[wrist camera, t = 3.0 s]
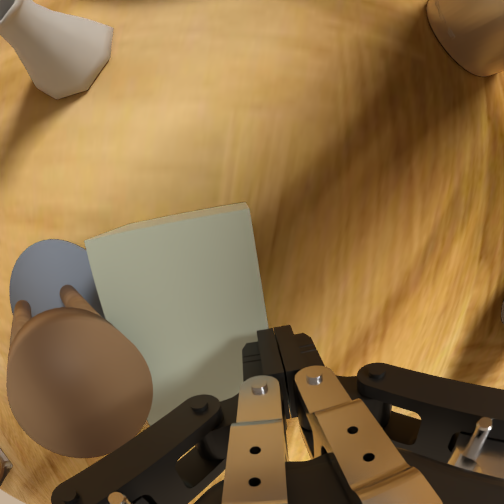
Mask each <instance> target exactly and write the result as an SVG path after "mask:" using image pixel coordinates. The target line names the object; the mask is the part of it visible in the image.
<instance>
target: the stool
mask: <svg viewBox="0 0 504 504" xmlns="http://www.w3.org/2000/svg"><path fill="white" fill-rule="evenodd" d="M60 298H61V300H62V302H63V303H64V305H65V307H60V308H54V309H50V310H46V311H44V312H42V313H39V314H37V315H36V316H34V317H32V315H31V306H30V304H29V303H28V302H27V301H25V300H20V301H18V302H17V303H16V305H15V309H14V315H13V322H12V329H11V338H10V348H9V354H8V364H7V385H6V387H7V397H8V401H9V405H10V408H11V410H12V413H13V415H14V417H15V419H16V420H17V422H18V424H19V425H20V426H21V428H22V429H23V430H24V431H25V433H26V434H27V435H28V436H29V437H30V438H32V439H33V440H34V441H35V442H36V443H38V444H39V445H41V446H42V447H44V448H46V449H48V450H50V451H52V452H54V453H57V454H60V455H63V456H68V457H74V458H92V457H98V456H102V455H106V454H109V453H111V452H113V451H115V450H116V449H118V448H119V447H121V446H122V445H124V444H125V443H127V442H128V441H130V440H131V439H133V438H134V437H135V436H136V435H137V433H138V432H139V431H140V430H141V428H142V427H143V425H144V423H145V422H146V420H147V418H148V415H149V412H150V410H151V405H152V400H153V383H152V377H151V373H150V370H149V367H148V365H147V363H146V361H145V359H144V357H143V356H142V354H141V352H140V351H139V350H138V349H137V348H136V346H135V345H134V344H133V343H132V342H131V341H130V340H129V339H127V338H126V337H125V336H124V335H123V334H122V333H121V332H120V331H119V330H118V329H117V328H116V327H114V326H113V325H112V324H111V323H110V322H109V321H107V320H106V319H104V318H103V317H101V316H100V315H99V314H98V313H97V312H96V311H95V309H94V308H93V307H92V306H91V305H90V304H89V303H88V302H87V301H86V300H85V299H84V298H83V297H82V296H81V295H80V294H79V292H78V291H77V290H76V289H75V288H74V287H73V286H71V285H64V286H63V287H62V288H61V289H60Z"/></svg>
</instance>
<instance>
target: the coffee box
mask: <svg viewBox="0 0 504 504" xmlns="http://www.w3.org/2000/svg"><path fill="white" fill-rule="evenodd" d="M12 466H13V465H12V464H11V463H10V461H9V460H8V458H7V457H6V456H5V454H4V453H3V452H2V450H1V449H0V486H1V484H2V482H3V481H4V479H5V477H6V476H7V474H8V472H9V471H10V469H11V467H12Z"/></svg>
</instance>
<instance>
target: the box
mask: <svg viewBox="0 0 504 504" xmlns="http://www.w3.org/2000/svg"><path fill="white" fill-rule="evenodd" d="M84 242H85V246H86V251H87V255H88V259H89V263H90V267H91V271H92V275H93V278H94V282H95V285H96V289H97V292H98V296H99V299H100V302H101V306H102V309H103V312H104V315H105V318H106V320H107V321H109V322H110V323H111V324H112V325H113V326H114V327H116V328H117V329H118V330H119V331H120V332H121V333H122V334H123V335H124V336H125V337H126V338H127V339H129V340H130V341H131V342H132V343H133V344H134V345H135V346H136V348H137V349H138V350H139V351H140V352H141V354H142V356H143V357H144V359H145V361H146V363H147V365H148V367H149V370H150V373H151V377H152V383H153V400H152V405H151V410H150V412H149V415H148V418H147V421H148V423H149V425H150V426H151V425H153V424H154V423H156V422H157V421H158V420H160V419H161V418H162V417H164V416H165V415H167V414H168V413H169V412H171V411H172V410H173V409H175V408H176V407H177V406H179V405H180V404H182V403H183V402H184V401H186V400H187V399H189V398H191V397H193V396H196V395H202V394H207V395H212V396H214V397H216V398H217V399H218V400H219V402H220V401H223V400H226V399H229V398H231V397H233V396H235V395H237V394H238V393H239V389H240V386H241V384H242V383H243V364H242V363H243V362H242V349H243V347H244V346H245V344H246V343H251V342H257V341H258V338H257V330H264V329H269V328H268V322H267V315H266V309H265V303H264V296H263V290H262V284H261V277H260V271H259V265H258V259H257V252H256V246H255V240H254V234H253V228H252V221H251V215H250V209H249V207H248V205H247V203H246V202H242V203H236V204H230V205H224V206H219V207H213V208H207V209H202V210H197V211H191V212H186V213H181V214H175V215H170V216H165V217H160V218H155V219H150V220H146V221H141V222H136V223H131V224H128V225H125V226H122V227H119V228H117V229H114V230H111V231H108V232H106V233H103V234H100V235H98V236H95V237H93V238H90V239H87V240H85V241H84Z"/></svg>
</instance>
